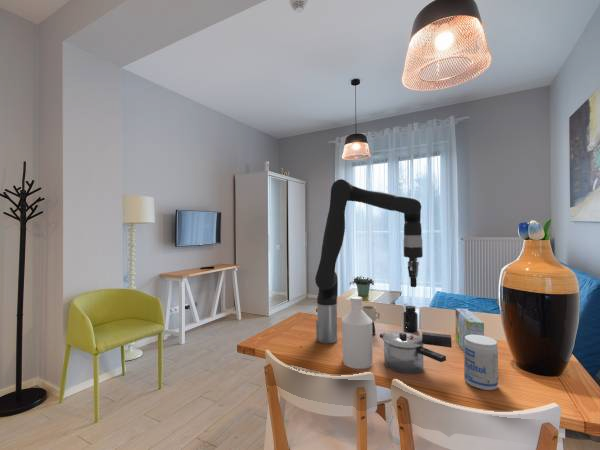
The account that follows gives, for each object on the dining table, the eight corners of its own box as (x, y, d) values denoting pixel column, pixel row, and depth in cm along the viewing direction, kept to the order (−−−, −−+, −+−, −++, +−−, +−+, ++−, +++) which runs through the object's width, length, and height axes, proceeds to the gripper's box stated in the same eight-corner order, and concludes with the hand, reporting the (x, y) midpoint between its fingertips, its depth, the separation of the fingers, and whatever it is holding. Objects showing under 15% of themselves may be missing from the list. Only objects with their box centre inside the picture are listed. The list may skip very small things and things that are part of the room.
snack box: (485, 361, 112) (484, 322, 112) (469, 360, 113) (468, 321, 114) (468, 341, 133) (467, 308, 133) (454, 340, 134) (454, 307, 134)
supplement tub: (461, 384, 96) (460, 339, 96) (467, 373, 103) (466, 332, 103) (496, 395, 89) (495, 347, 90) (500, 382, 97) (499, 338, 97)
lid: (380, 345, 106) (380, 334, 106) (385, 332, 120) (385, 323, 120) (453, 355, 97) (453, 343, 97) (449, 339, 111) (449, 329, 111)
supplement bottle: (403, 331, 146) (402, 307, 146) (403, 327, 152) (403, 304, 152) (417, 333, 143) (417, 309, 143) (417, 329, 150) (417, 305, 150)
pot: (370, 359, 115) (369, 336, 115) (394, 351, 123) (393, 329, 123) (431, 390, 92) (430, 362, 93) (456, 378, 100) (455, 351, 100)
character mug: (381, 332, 144) (381, 306, 145) (378, 337, 138) (377, 310, 139) (360, 329, 150) (360, 304, 150) (356, 333, 144) (355, 307, 144)
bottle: (336, 358, 116) (335, 296, 117) (360, 353, 121) (359, 293, 121) (353, 371, 105) (352, 302, 106) (379, 365, 110) (378, 299, 111)
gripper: (406, 245, 131) (406, 283, 131) (400, 246, 120) (401, 288, 119) (424, 245, 128) (424, 285, 127) (420, 246, 116) (421, 290, 116)
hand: (413, 286), depth 123 cm, fingers closed
